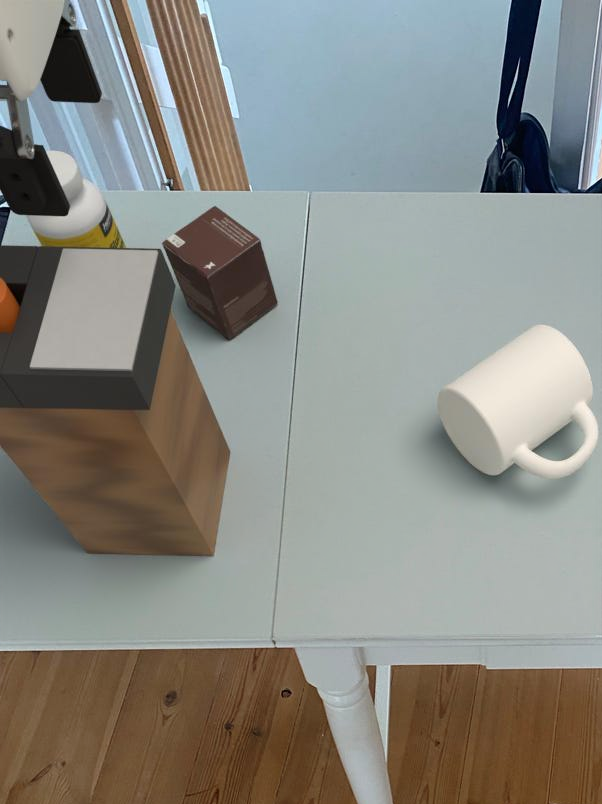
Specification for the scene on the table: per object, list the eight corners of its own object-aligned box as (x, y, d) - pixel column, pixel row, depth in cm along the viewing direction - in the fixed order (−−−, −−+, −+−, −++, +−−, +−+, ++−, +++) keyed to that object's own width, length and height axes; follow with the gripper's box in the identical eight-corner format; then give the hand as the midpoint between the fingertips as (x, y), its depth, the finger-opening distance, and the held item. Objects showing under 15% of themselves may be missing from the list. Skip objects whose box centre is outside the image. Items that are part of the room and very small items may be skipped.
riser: (87, 553, 69) (-33, 407, 53) (111, 448, 73) (6, 282, 57) (213, 556, 69) (133, 410, 53) (230, 451, 73) (160, 285, 57)
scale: (-49, 406, 53) (-80, 370, 50) (-9, 281, 57) (-35, 241, 54) (150, 410, 53) (131, 374, 50) (176, 285, 57) (160, 245, 54)
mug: (437, 433, 74) (434, 369, 67) (524, 372, 77) (530, 304, 70) (533, 525, 71) (540, 468, 63) (621, 458, 73) (637, 396, 66)
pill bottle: (132, 310, 79) (79, 200, 69) (60, 309, 79) (-3, 198, 69) (144, 257, 82) (95, 143, 71) (75, 256, 82) (15, 141, 71)
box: (280, 305, 80) (262, 239, 73) (229, 342, 78) (206, 278, 71) (236, 270, 81) (215, 203, 75) (185, 306, 80) (159, 240, 73)
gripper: (-137, -328, 40) (27, 58, 55) (-275, -117, 32) (-42, 258, 48) (32, -319, 40) (148, 63, 55) (-68, -108, 33) (97, 263, 48)
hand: (60, 153), depth 52 cm, fingers open, 9 cm apart
